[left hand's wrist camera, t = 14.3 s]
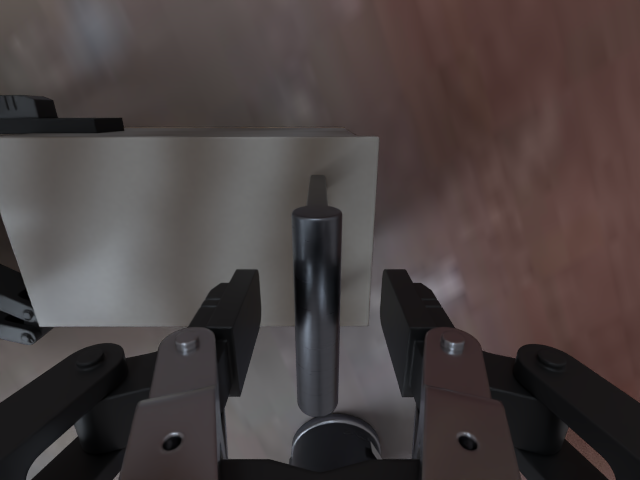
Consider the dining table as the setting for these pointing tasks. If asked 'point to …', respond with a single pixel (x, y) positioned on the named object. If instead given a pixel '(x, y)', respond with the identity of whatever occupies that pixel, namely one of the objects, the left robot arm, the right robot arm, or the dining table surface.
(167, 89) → the dining table surface
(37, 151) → the panel with bar handle
